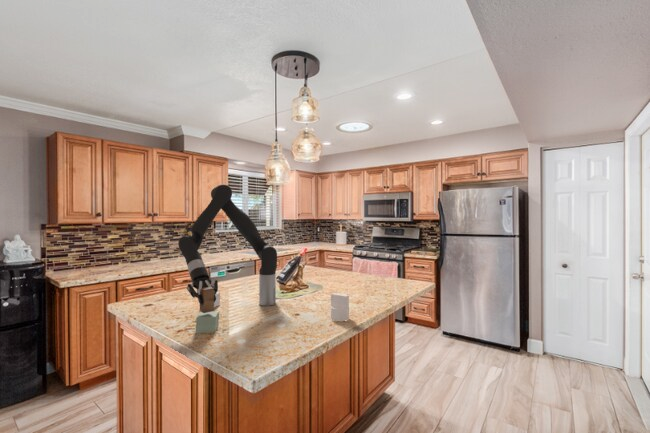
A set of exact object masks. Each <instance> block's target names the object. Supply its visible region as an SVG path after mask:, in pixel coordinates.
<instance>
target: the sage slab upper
mask: <svg viewBox="0 0 650 433" xmlns="http://www.w3.org/2000/svg"><path fill="white" fill-rule="evenodd" d="M219 319H220V311H219V310H217V311H215V310H214V311H212V312H207V313H202V312H201V311H199V314H198V315H197V316H196V319H195V327H196V326H201V325H216V323H217V322H218V320H219Z"/></svg>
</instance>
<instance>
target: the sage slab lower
mask: <svg viewBox="0 0 650 433" xmlns="http://www.w3.org/2000/svg"><path fill="white" fill-rule="evenodd" d="M219 323H220V321H219V320H218V322H217V323H216V325H201V326H196V325H195V334H207V333H208V334H209V333H210V334H212V333H216V332H217V330H218V328H219V325H220V324H219Z"/></svg>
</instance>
